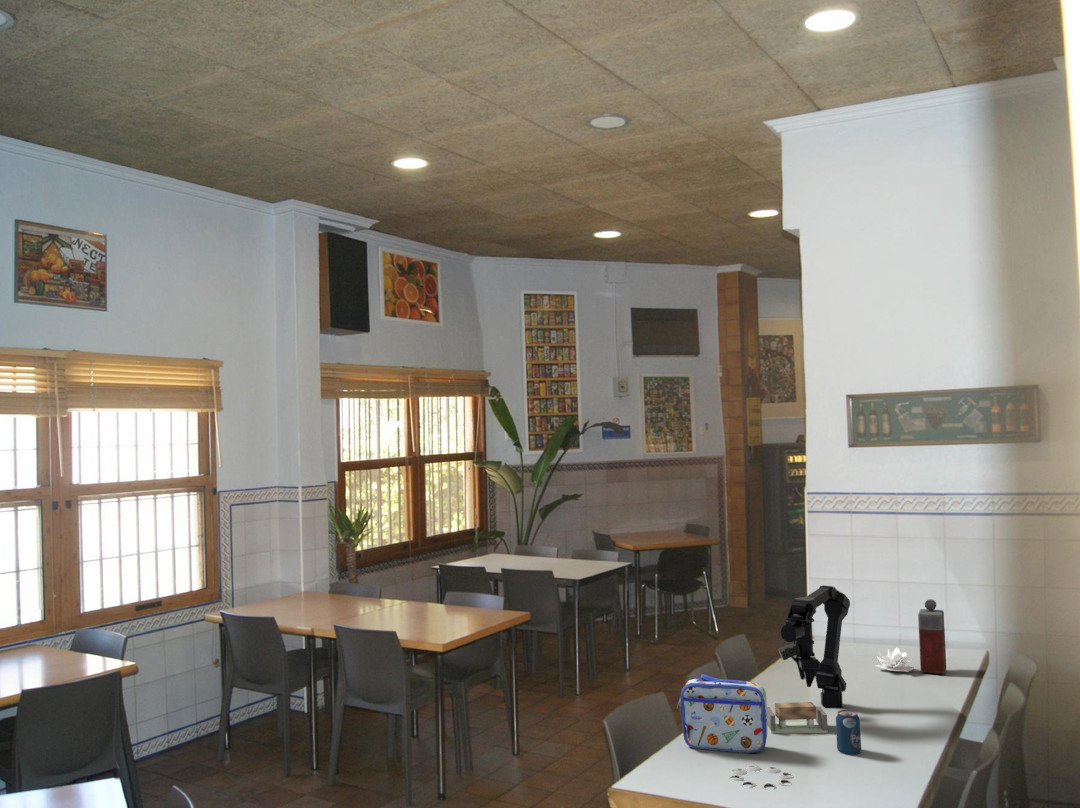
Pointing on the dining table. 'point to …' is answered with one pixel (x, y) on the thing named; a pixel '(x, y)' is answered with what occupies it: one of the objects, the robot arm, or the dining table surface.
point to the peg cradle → (798, 724)
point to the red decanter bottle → (932, 639)
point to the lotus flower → (895, 661)
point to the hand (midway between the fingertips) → (805, 683)
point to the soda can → (848, 732)
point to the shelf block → (795, 711)
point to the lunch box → (724, 715)
